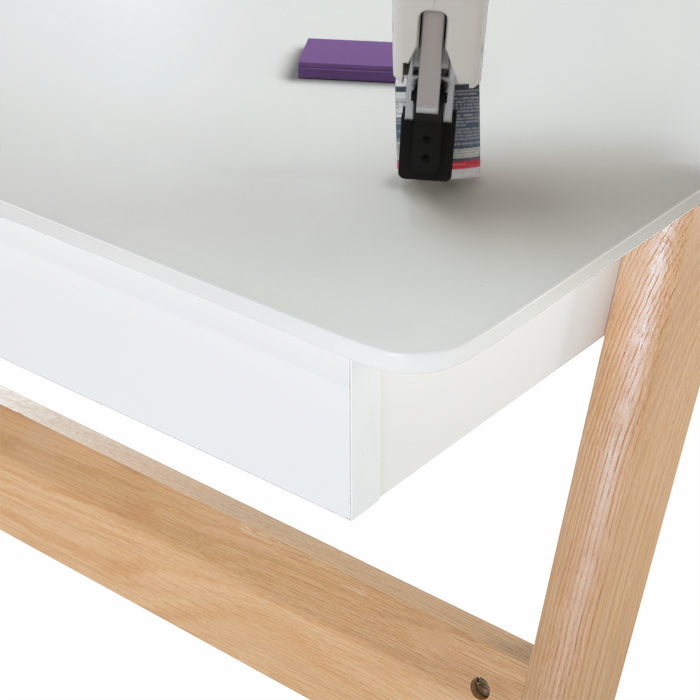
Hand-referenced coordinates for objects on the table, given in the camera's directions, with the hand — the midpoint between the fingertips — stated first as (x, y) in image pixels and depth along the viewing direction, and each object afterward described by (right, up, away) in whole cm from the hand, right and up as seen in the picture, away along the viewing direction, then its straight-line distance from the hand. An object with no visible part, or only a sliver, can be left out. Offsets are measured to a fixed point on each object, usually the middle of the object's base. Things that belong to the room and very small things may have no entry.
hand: (425, 173), depth 75 cm
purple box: (-2, +11, +22) cm, 25 cm away
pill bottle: (+1, 0, +4) cm, 4 cm away
